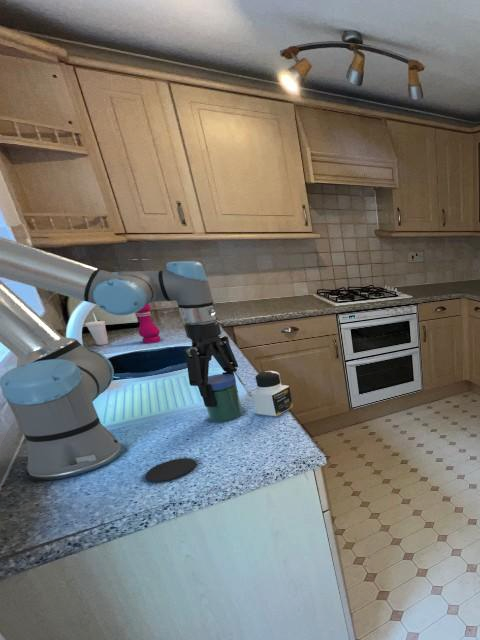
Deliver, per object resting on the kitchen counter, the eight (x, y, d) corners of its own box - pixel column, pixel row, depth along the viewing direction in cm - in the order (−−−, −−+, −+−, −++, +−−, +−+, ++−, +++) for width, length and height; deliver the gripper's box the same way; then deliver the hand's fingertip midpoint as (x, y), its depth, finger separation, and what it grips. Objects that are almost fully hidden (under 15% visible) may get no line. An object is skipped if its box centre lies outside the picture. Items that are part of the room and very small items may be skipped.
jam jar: (204, 423, 113) (194, 388, 109) (216, 411, 120) (207, 378, 116) (237, 420, 115) (228, 386, 111) (246, 408, 122) (238, 376, 118)
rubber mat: (134, 482, 87) (133, 480, 87) (167, 459, 96) (167, 457, 96) (176, 483, 88) (175, 481, 87) (205, 460, 96) (205, 458, 96)
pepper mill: (162, 338, 191) (148, 295, 183) (162, 341, 185) (148, 298, 178) (142, 340, 186) (127, 297, 179) (141, 344, 181) (126, 299, 174)
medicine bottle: (276, 416, 117) (268, 378, 113) (255, 414, 119) (246, 376, 114) (293, 406, 124) (286, 370, 120) (273, 404, 125) (265, 368, 121)
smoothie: (114, 343, 181) (103, 312, 176) (95, 346, 176) (83, 314, 171) (109, 341, 185) (98, 310, 179) (90, 344, 180) (78, 313, 174)
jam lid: (240, 378, 119) (239, 373, 118) (229, 389, 111) (227, 383, 111) (207, 380, 117) (206, 374, 116) (193, 391, 109) (192, 385, 109)
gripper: (183, 332, 97) (208, 416, 106) (240, 313, 117) (257, 385, 126) (153, 331, 97) (180, 415, 106) (215, 313, 117) (233, 385, 126)
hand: (222, 399), depth 116 cm, fingers closed on jam lid, 8 cm apart
